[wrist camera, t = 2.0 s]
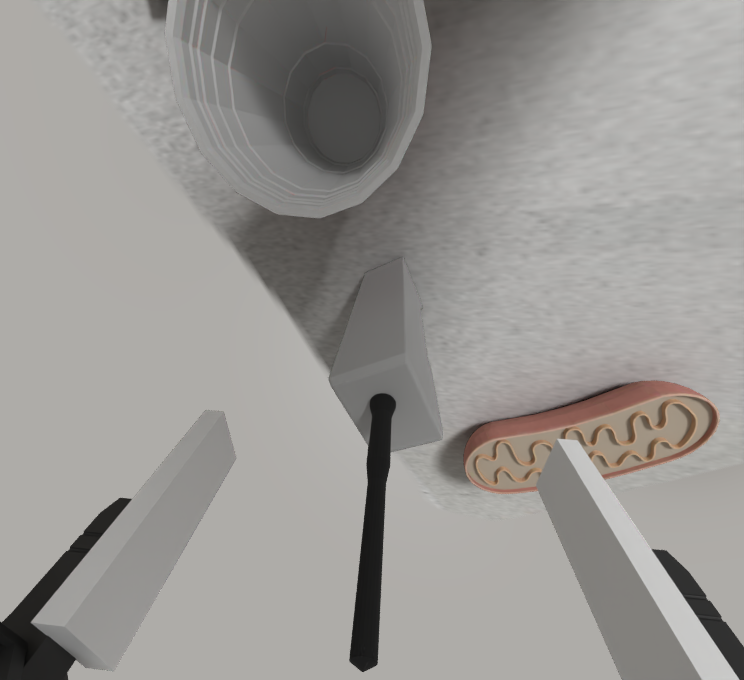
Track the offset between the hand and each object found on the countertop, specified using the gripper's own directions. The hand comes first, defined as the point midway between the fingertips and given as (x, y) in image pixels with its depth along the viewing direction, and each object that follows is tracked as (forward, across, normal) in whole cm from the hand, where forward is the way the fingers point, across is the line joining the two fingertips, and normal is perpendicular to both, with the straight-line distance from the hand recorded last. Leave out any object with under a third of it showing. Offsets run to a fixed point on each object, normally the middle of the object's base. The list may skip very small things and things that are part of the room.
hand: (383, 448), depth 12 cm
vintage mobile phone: (+19, 0, 0) cm, 19 cm away
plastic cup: (+18, -4, +13) cm, 23 cm away
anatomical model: (+19, +20, -14) cm, 31 cm away
